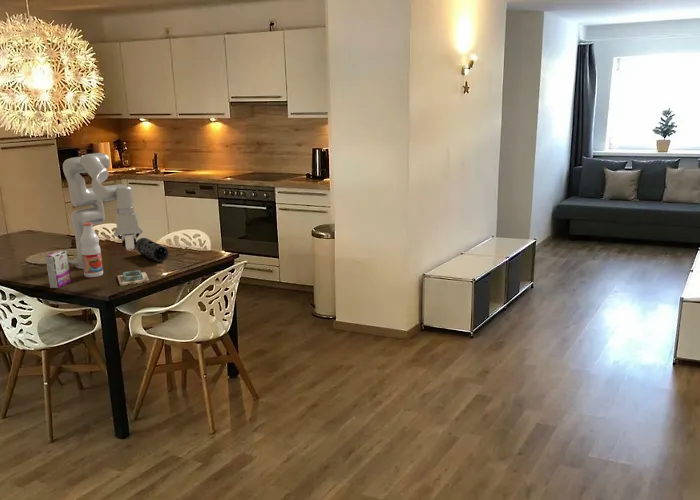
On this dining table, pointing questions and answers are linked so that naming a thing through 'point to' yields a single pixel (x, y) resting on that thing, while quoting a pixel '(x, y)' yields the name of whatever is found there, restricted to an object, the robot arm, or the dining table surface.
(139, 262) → the dining table surface
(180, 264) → the dining table surface
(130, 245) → the block
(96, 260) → the fruit juice
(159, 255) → the muzzle brake
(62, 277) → the candy bar box
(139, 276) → the holder
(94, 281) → the dining table surface
